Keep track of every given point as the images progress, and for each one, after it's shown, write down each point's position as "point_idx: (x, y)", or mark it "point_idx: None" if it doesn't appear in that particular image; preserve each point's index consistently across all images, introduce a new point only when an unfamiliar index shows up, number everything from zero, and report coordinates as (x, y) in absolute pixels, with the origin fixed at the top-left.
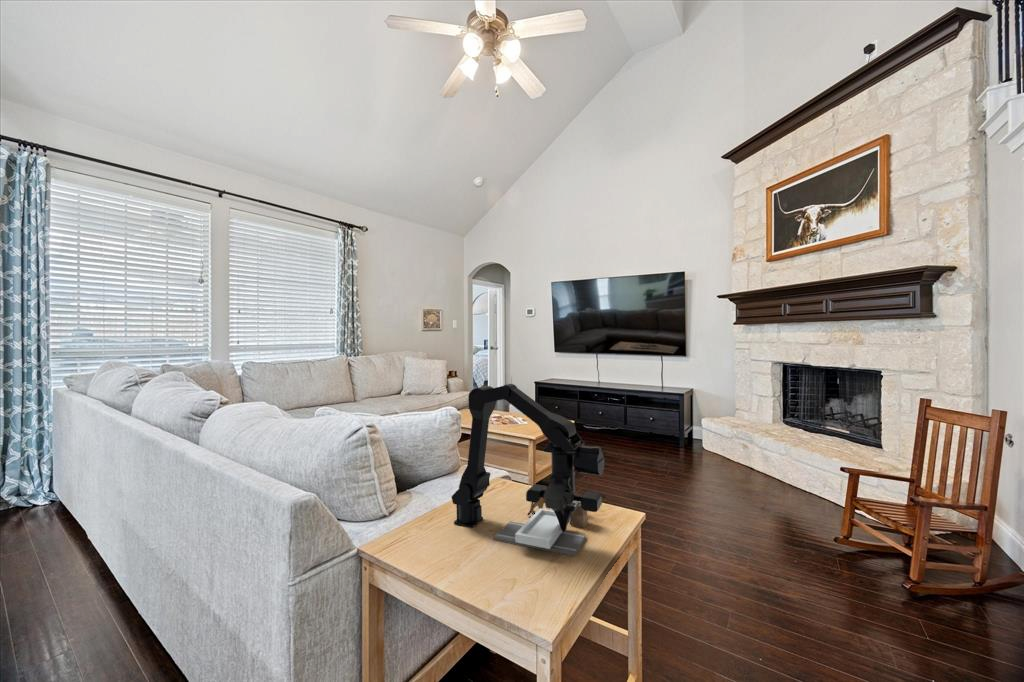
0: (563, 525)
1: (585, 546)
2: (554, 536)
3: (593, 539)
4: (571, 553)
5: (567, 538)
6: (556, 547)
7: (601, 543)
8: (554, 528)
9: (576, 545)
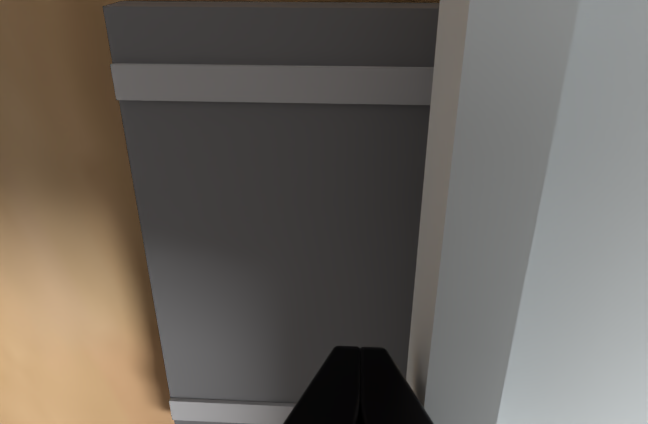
0: (345, 410)
1: (117, 273)
2: (452, 56)
3: (109, 414)
4: (157, 3)
5: (335, 328)
6: (407, 61)
7: (6, 371)
8: (516, 308)
9: (171, 212)
